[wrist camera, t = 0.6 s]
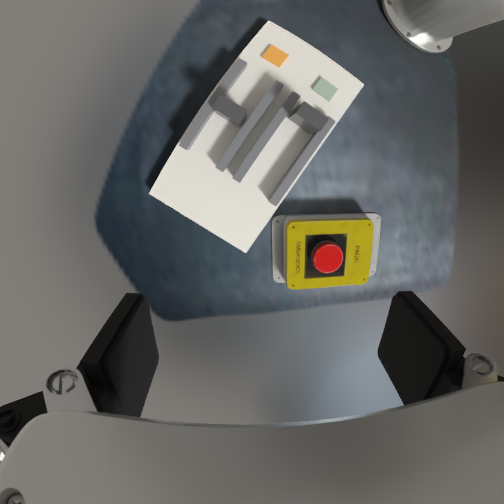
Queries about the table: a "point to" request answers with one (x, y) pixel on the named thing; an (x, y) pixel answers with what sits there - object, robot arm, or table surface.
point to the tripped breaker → (229, 110)
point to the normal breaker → (308, 118)
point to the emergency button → (325, 249)
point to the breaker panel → (254, 136)
